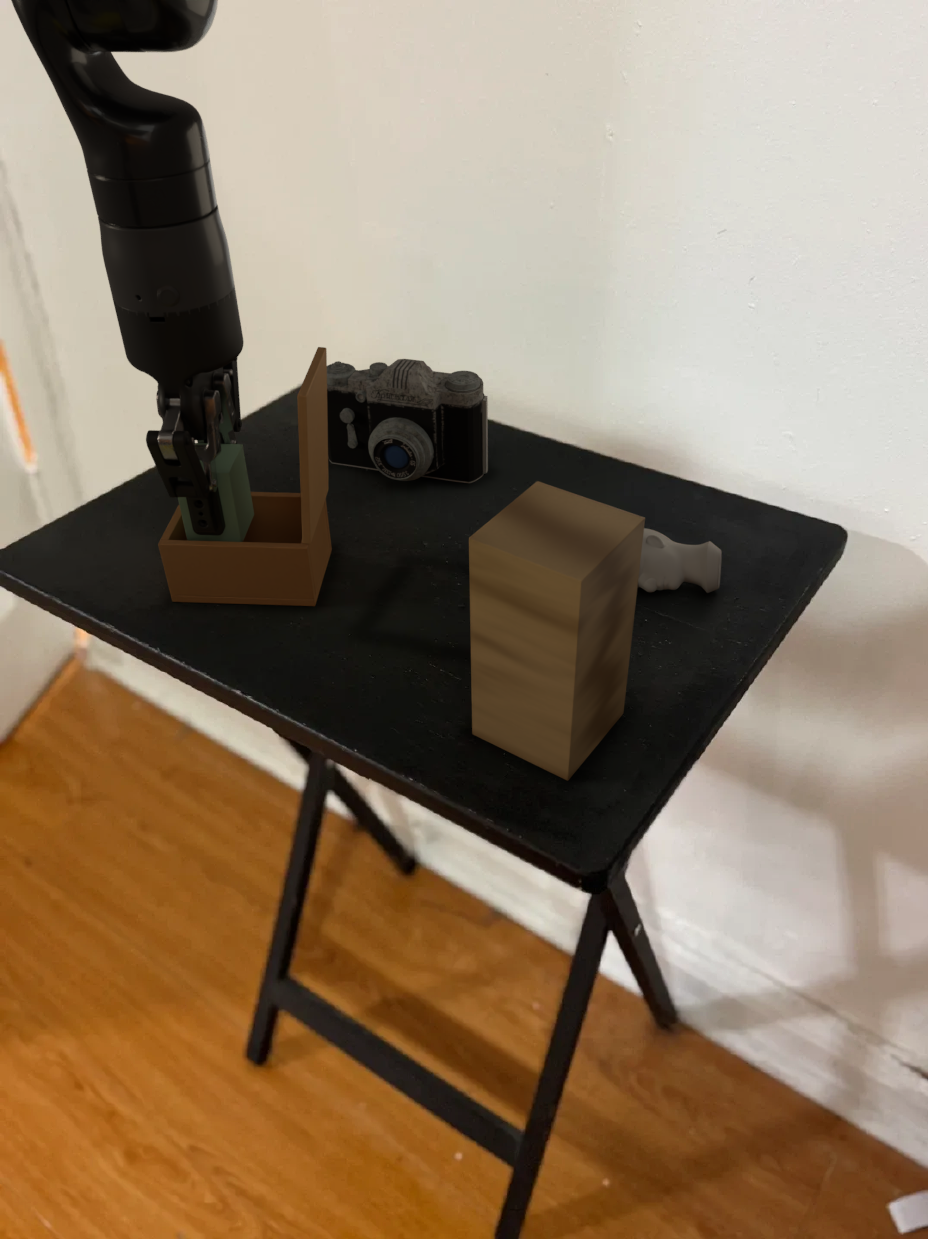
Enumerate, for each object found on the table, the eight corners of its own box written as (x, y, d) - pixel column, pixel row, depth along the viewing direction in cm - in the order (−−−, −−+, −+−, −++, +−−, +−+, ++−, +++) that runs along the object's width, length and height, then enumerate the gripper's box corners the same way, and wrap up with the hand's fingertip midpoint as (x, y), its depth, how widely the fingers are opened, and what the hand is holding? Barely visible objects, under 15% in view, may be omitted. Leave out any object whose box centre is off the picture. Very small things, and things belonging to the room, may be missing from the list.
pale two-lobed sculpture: (605, 595, 77) (631, 545, 80) (707, 625, 74) (731, 572, 76) (600, 559, 74) (627, 508, 76) (707, 589, 71) (733, 535, 73)
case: (172, 602, 76) (157, 544, 73) (198, 546, 81) (186, 490, 78) (315, 606, 75) (307, 548, 72) (331, 549, 81) (325, 493, 77)
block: (187, 543, 74) (171, 471, 71) (202, 513, 77) (187, 442, 74) (242, 544, 74) (228, 472, 70) (254, 514, 77) (242, 443, 73)
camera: (307, 480, 89) (292, 373, 83) (336, 442, 94) (325, 339, 88) (470, 504, 85) (469, 394, 79) (492, 464, 90) (492, 357, 84)
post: (568, 781, 62) (581, 581, 52) (471, 734, 65) (468, 537, 55) (623, 713, 66) (645, 517, 56) (531, 672, 69) (537, 480, 60)
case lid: (297, 395, 64) (306, 396, 64) (317, 346, 70) (326, 347, 70) (302, 543, 72) (310, 544, 72) (320, 488, 77) (328, 489, 77)
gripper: (149, 244, 70) (194, 464, 81) (72, 329, 59) (137, 571, 70) (257, 245, 69) (288, 466, 80) (201, 331, 58) (246, 574, 69)
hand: (218, 514), depth 75 cm, fingers closed on block, 4 cm apart
